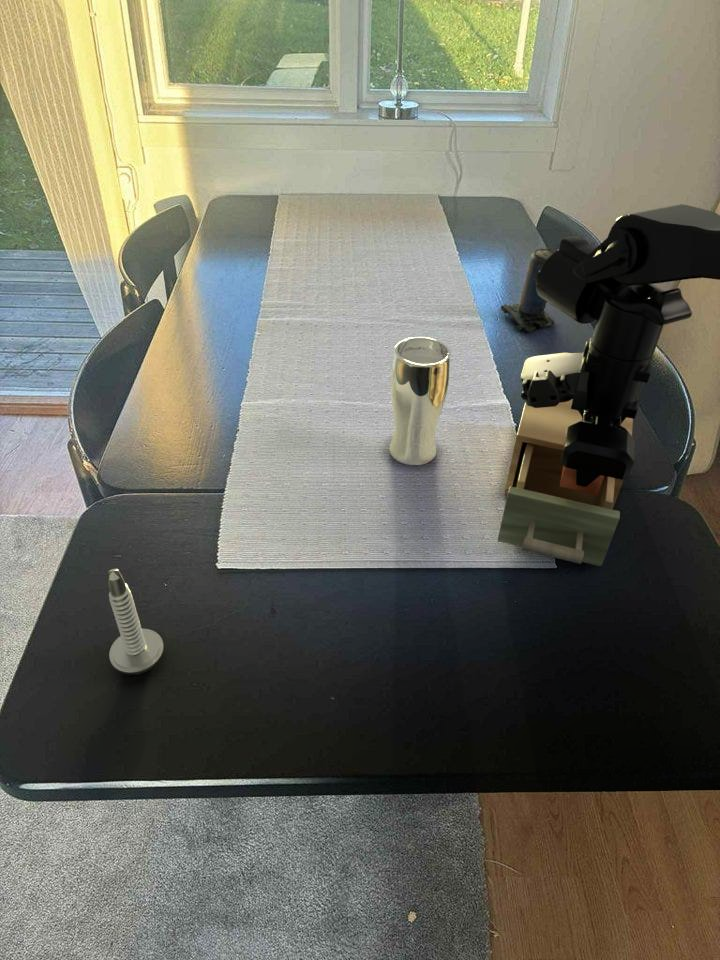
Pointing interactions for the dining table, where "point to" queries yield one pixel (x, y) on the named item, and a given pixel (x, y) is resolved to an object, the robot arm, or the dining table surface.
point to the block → (570, 482)
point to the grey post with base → (531, 297)
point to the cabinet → (548, 435)
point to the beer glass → (418, 397)
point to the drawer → (557, 512)
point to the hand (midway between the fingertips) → (582, 472)
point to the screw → (131, 632)
